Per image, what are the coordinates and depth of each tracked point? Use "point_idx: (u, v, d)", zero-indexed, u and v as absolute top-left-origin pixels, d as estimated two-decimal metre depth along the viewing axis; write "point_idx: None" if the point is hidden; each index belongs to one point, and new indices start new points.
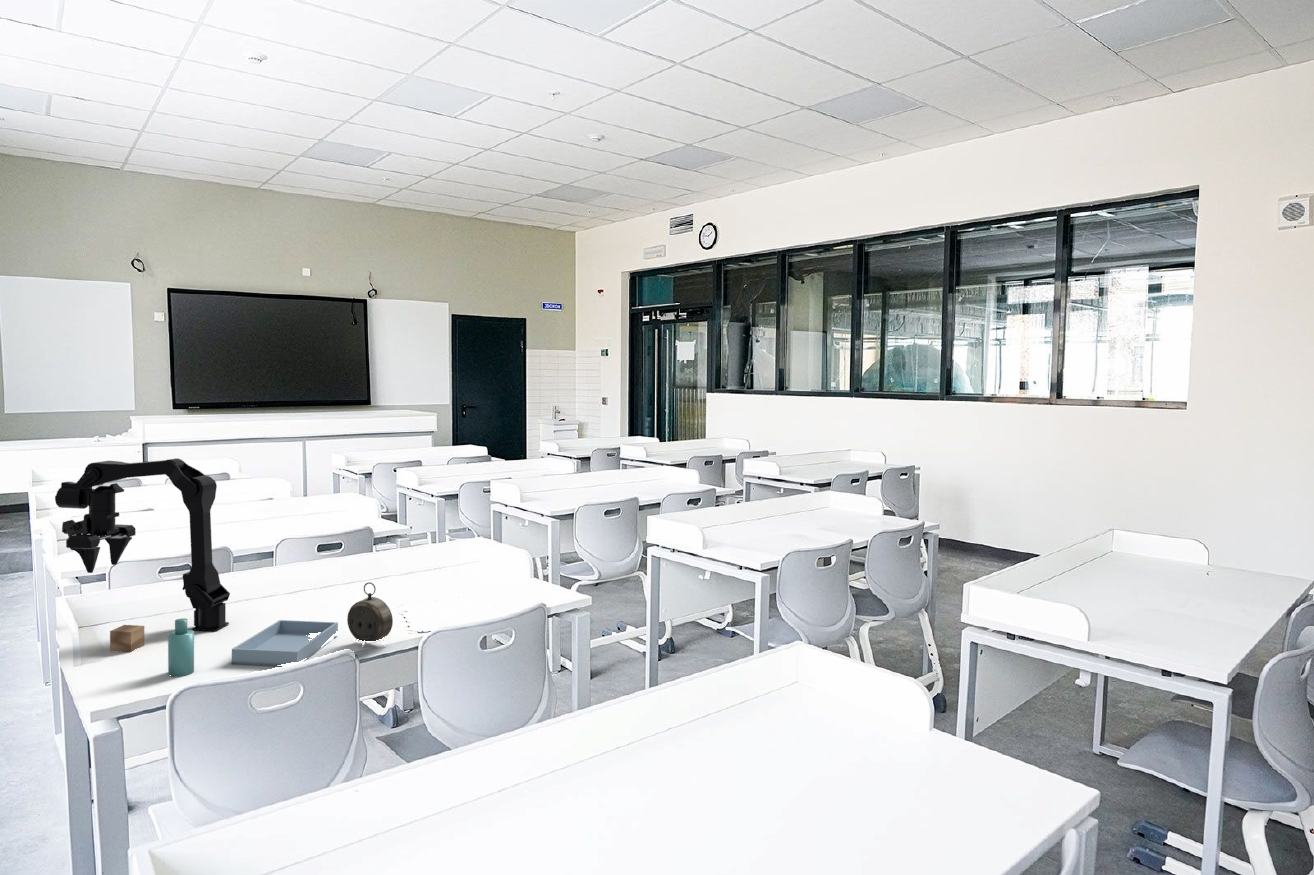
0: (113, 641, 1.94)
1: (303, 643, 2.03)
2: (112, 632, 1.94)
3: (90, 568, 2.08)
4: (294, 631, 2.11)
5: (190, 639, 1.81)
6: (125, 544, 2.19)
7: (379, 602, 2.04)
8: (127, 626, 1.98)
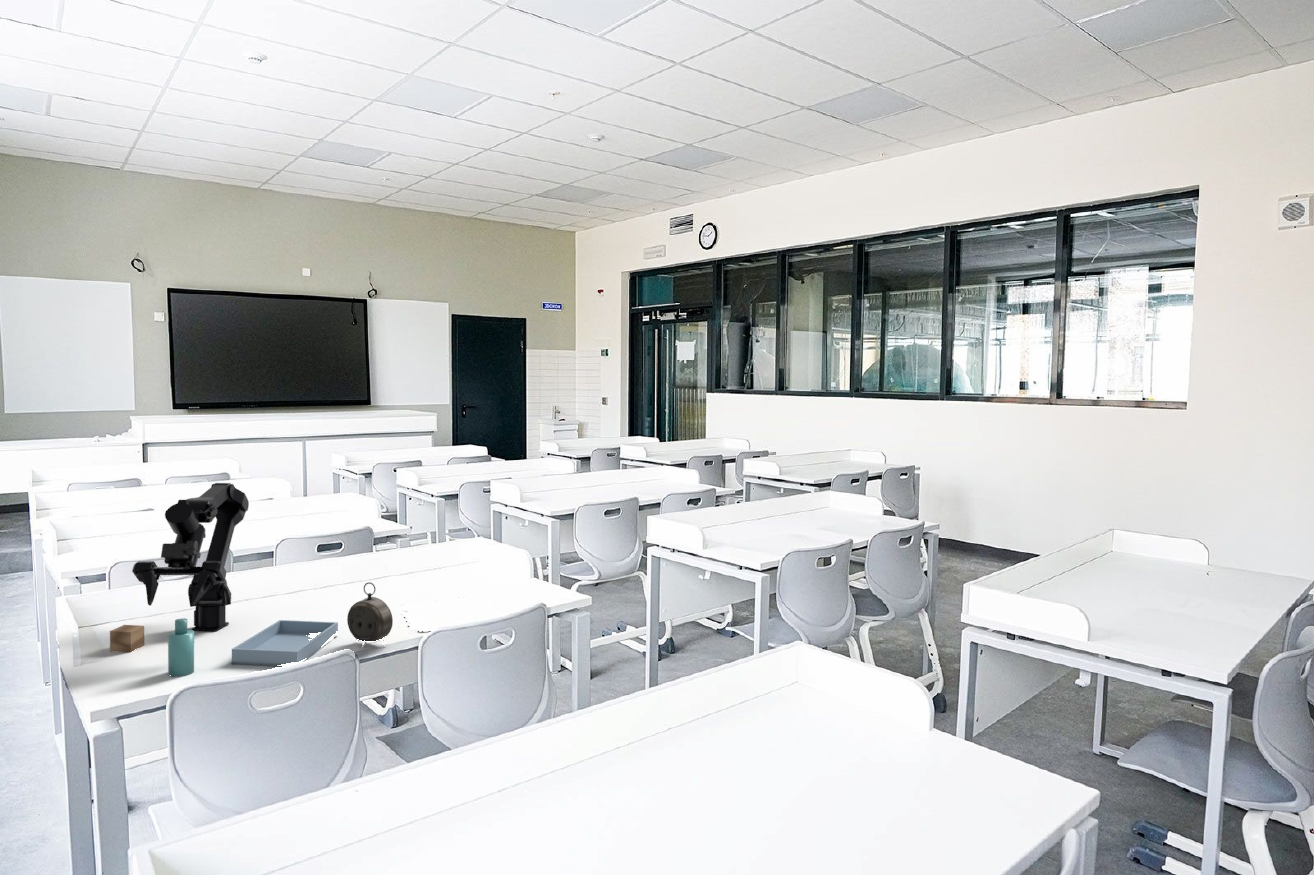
0: (113, 641, 1.94)
1: (303, 643, 2.03)
2: (112, 632, 1.94)
3: (197, 600, 1.90)
4: (294, 631, 2.11)
5: (190, 639, 1.81)
6: None
7: (379, 602, 2.04)
8: (127, 626, 1.98)
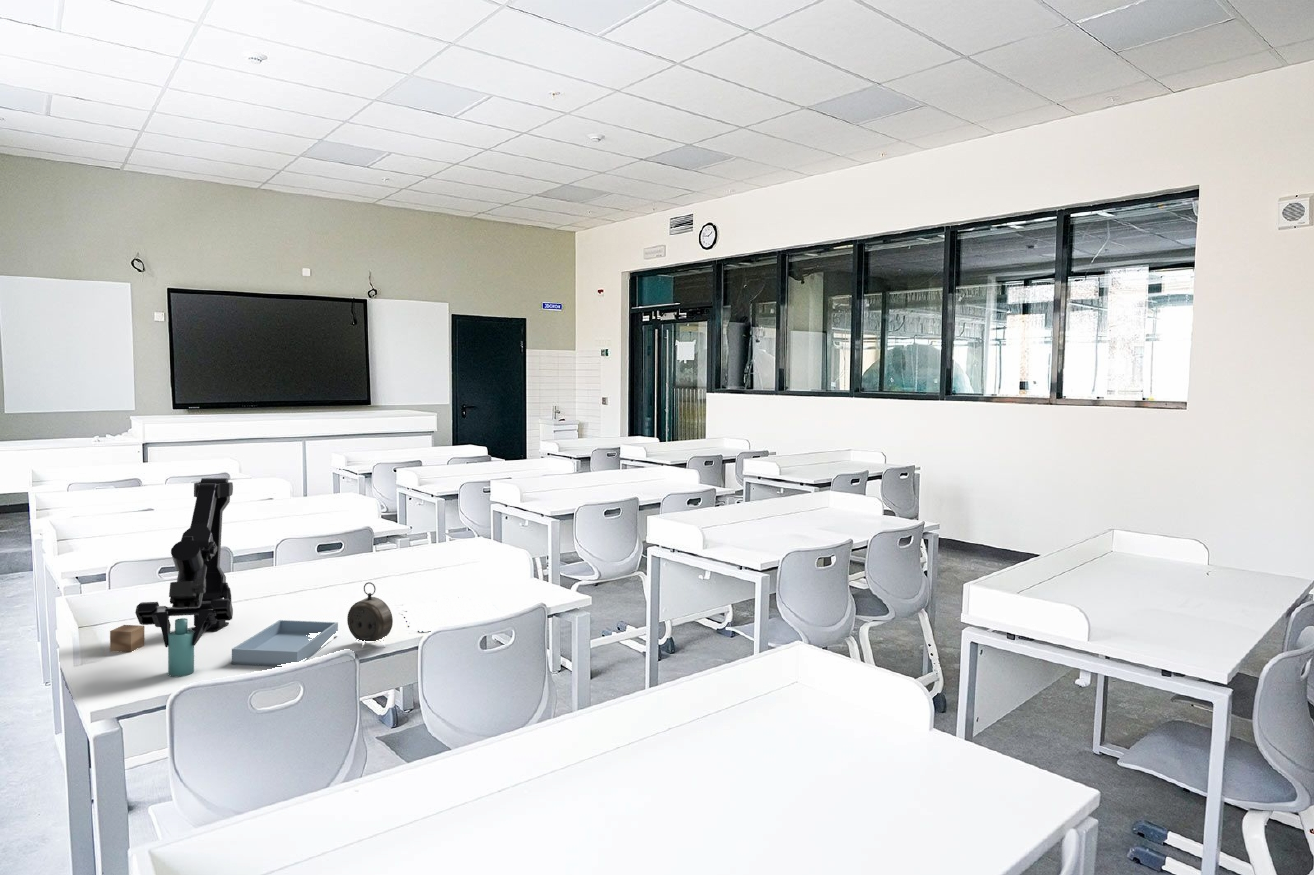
0: (113, 641, 1.94)
1: (303, 643, 2.03)
2: (112, 632, 1.94)
3: (197, 640, 1.83)
4: (294, 631, 2.11)
5: (190, 639, 1.81)
6: None
7: (379, 602, 2.04)
8: (127, 626, 1.98)
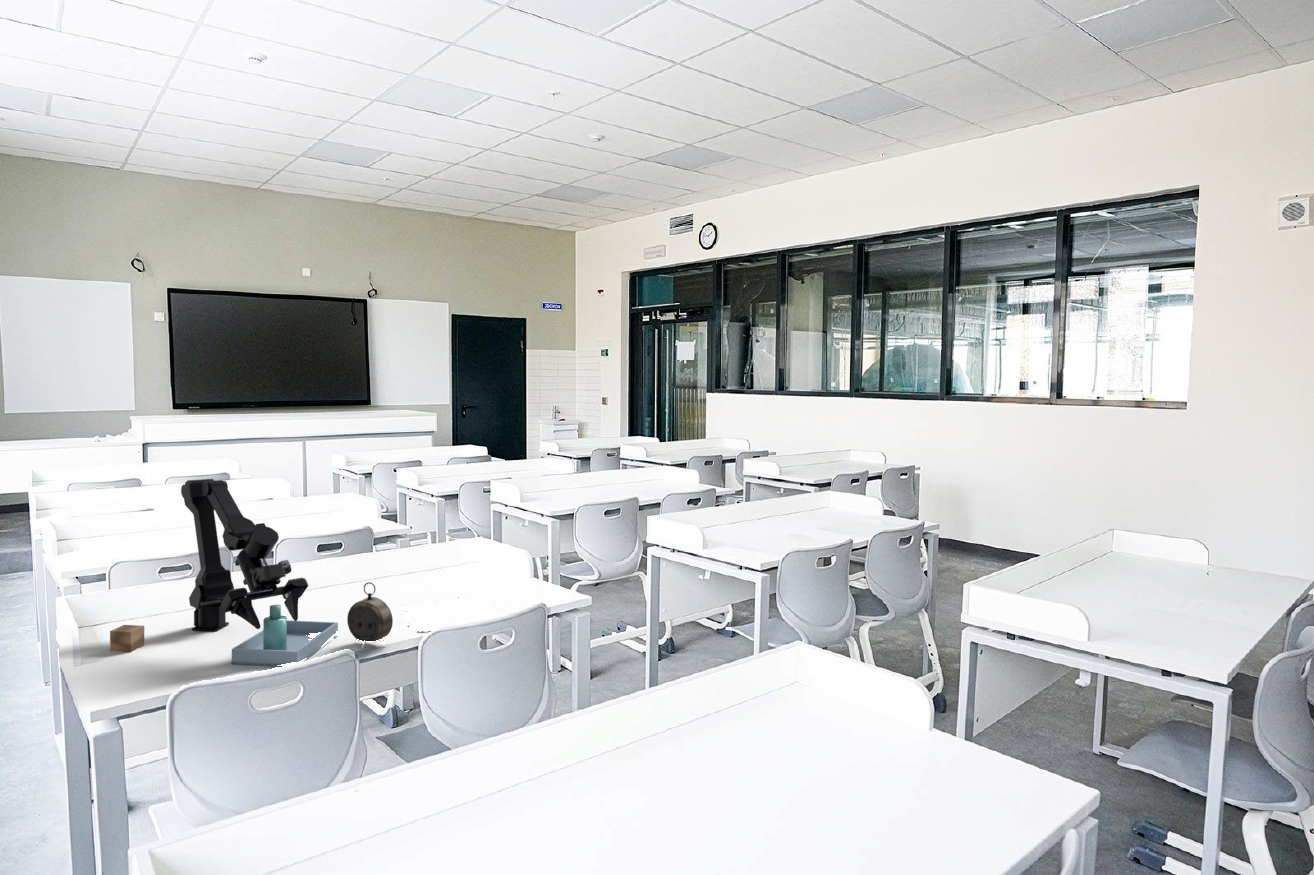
0: (113, 641, 1.94)
1: (303, 643, 2.03)
2: (112, 632, 1.94)
3: None
4: (294, 631, 2.11)
5: (286, 622, 1.94)
6: None
7: (379, 602, 2.04)
8: (127, 626, 1.98)
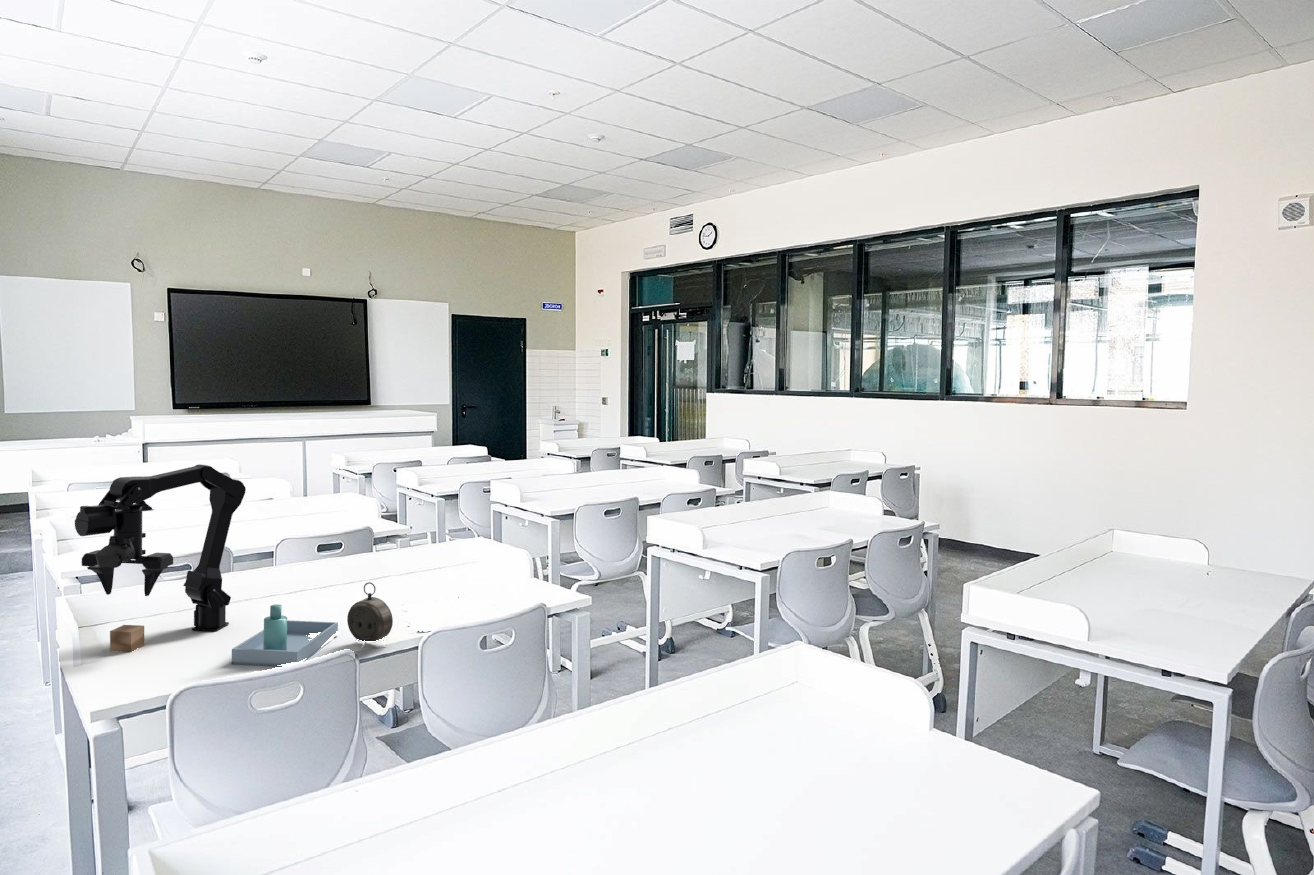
0: (113, 641, 1.94)
1: (303, 643, 2.03)
2: (112, 632, 1.94)
3: (150, 590, 1.96)
4: (294, 631, 2.11)
5: None
6: None
7: (379, 602, 2.04)
8: (127, 626, 1.98)
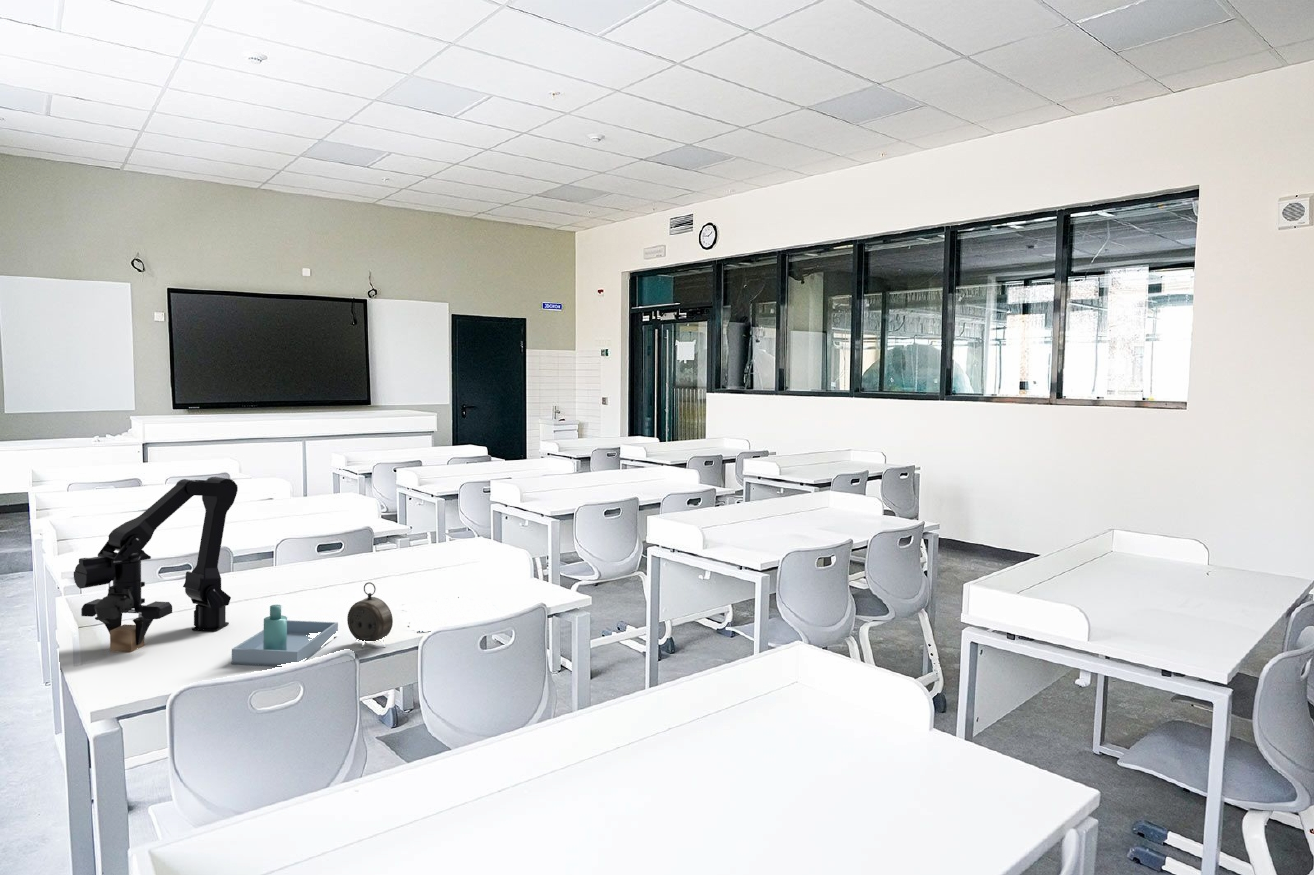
0: (113, 641, 1.94)
1: (303, 643, 2.03)
2: (112, 632, 1.94)
3: (141, 638, 1.97)
4: (294, 631, 2.11)
5: (286, 622, 1.94)
6: None
7: (379, 602, 2.04)
8: (127, 626, 1.98)
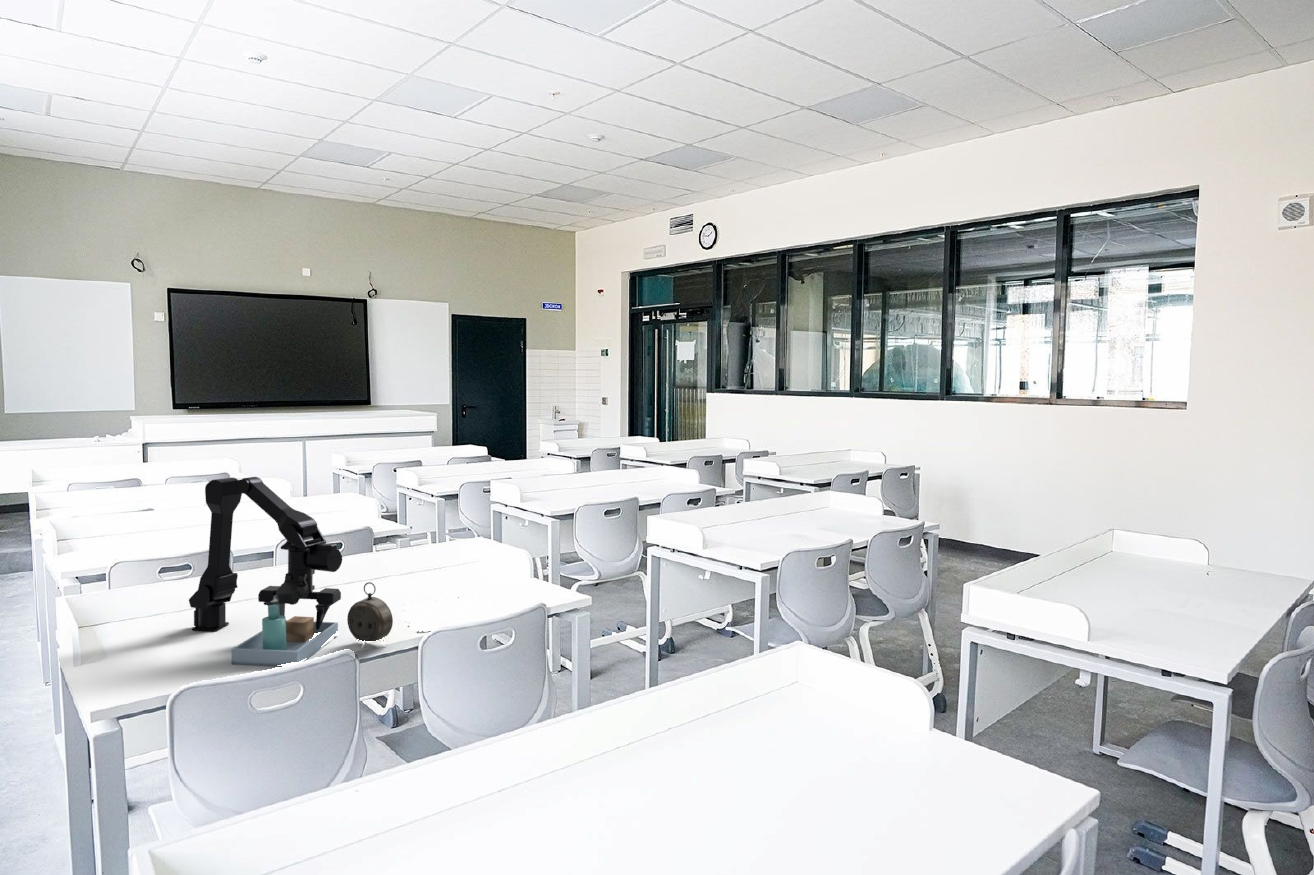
0: (288, 631, 2.04)
1: (303, 643, 2.03)
2: (287, 623, 2.04)
3: (320, 624, 2.07)
4: None
5: (285, 621, 1.94)
6: None
7: (379, 602, 2.04)
8: (298, 617, 2.07)
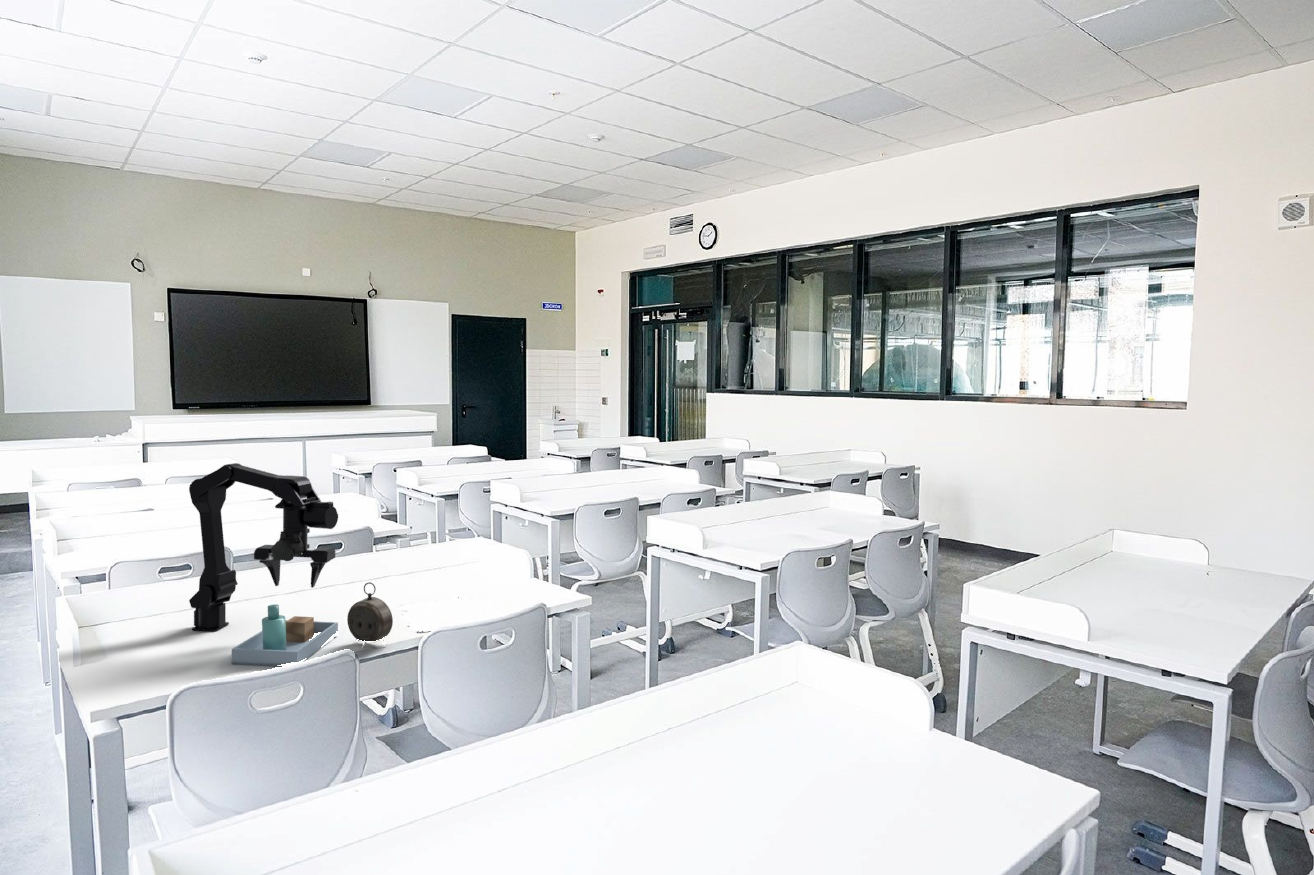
0: (288, 631, 2.04)
1: (303, 643, 2.03)
2: (287, 623, 2.04)
3: (315, 582, 2.10)
4: None
5: None
6: None
7: (379, 602, 2.04)
8: (298, 617, 2.07)
